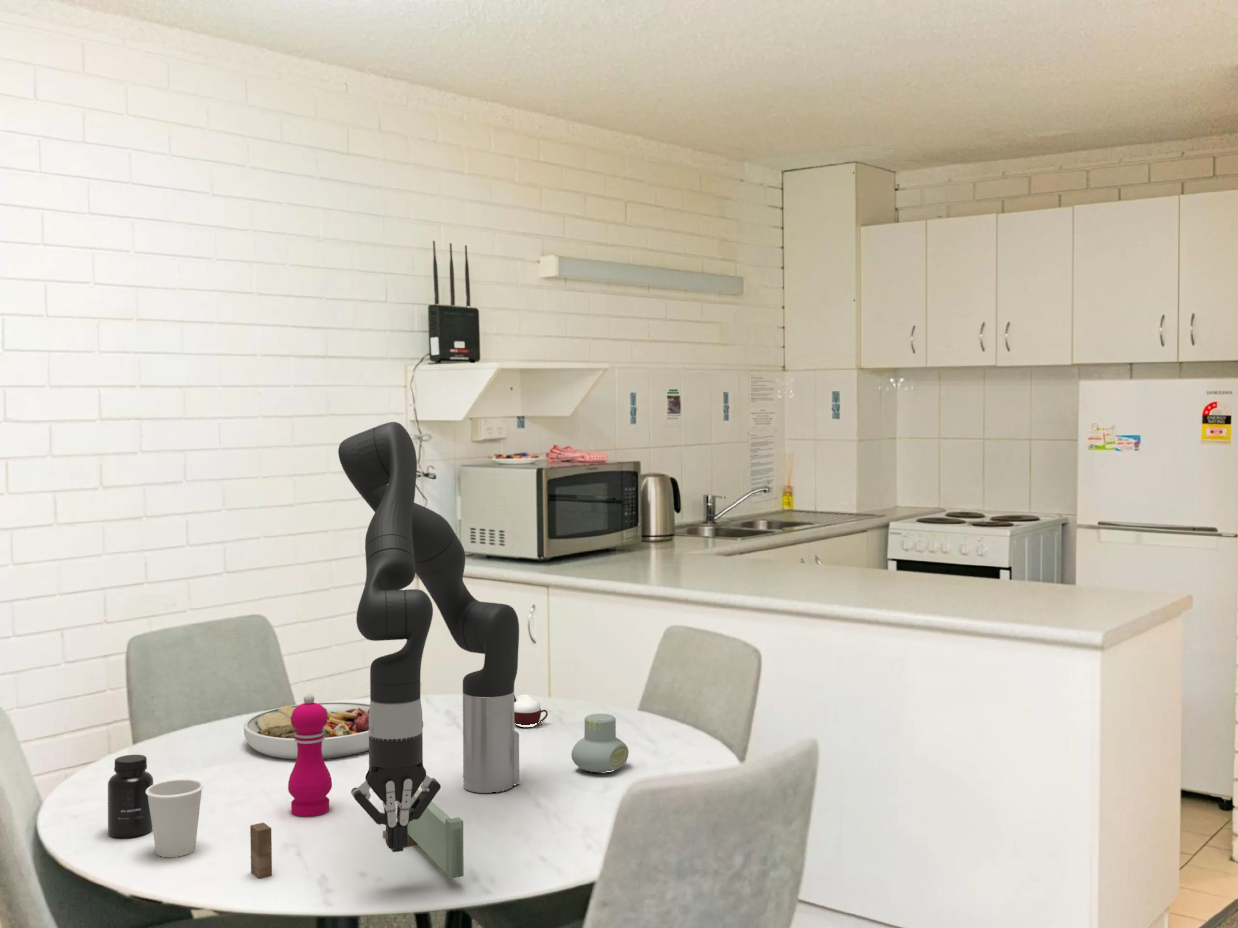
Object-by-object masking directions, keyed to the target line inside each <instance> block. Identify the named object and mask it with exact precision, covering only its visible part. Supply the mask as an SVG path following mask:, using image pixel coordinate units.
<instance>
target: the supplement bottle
mask: <svg viewBox="0 0 1238 928" xmlns="http://www.w3.org/2000/svg"><path fill="white" fill-rule="evenodd" d="M147 761H148V759H147V756H145V755H143V754H127V755H122V756H118V757H117V758H115V759H114V767H113V772H115V774H113V775H112V776H111V777H110V778H109V779H108V781H107V831H108V834H109V836H111V837H113V838H116V839H117V838H118V839H131V838H138V837H141V836H145V835H147V834H149V833H150V832H151V831H153V828H152V821H151V815H150V808H149V801H148V795H147V794H146V789H147V788H148V787H150V786H151V785H153V784H154V777H153V776H152V774H151V773H149V772H148V771H146V770H147V769H148V764H147V763H148V762H147Z"/></svg>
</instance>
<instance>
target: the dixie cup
mask: <svg viewBox="0 0 1238 928" xmlns="http://www.w3.org/2000/svg"><path fill="white" fill-rule="evenodd" d="M203 789H204V784H203V783H202V782H201V781H199V780H197V779H192V778H191V779H190V778H189V779H187V778H183V779H182V778H181V779H180V778H179V779H177V778H176V779H169V780H164V781H159V782H156V783H153V785H151V786H150V787H148V788H147V789H146V794H147V795H148V801H149V808H150V815H151V821H152V832H153V833H152V834H153V840H154V846H155V847H154V848H155V853H156V855H157V856H158V855H159V856H158V857H160V856H162V857H161V858H164V857H175V858H177V857H176V856H181V857H183V856H182V855H185V856H187V854H188V855H190V854H192V853H193V851H194V850H196V846H197V845H196V844H197V835H198V826H199V818H200V817H199V816H200V810H201V809H200V808H201V801H202V790H203ZM194 852H195V851H194Z"/></svg>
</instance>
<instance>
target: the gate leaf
mask: <svg viewBox="0 0 1238 928" xmlns="http://www.w3.org/2000/svg"><path fill="white" fill-rule="evenodd" d="M421 791H422V790H420V789H419V788H418V790H417V791H416V793H415V794H414V796H413V797H412V798H411V802H410V807H411V805H412V804H413V802H414V801H415V800H416V798H417V797H418V795H419V794H420V793H421ZM408 835H409V836H410V837H411V838H412V839H413V840H414V841H415V842H416V843H417V844H416V845H418V846H419V847H420V848H421V849H422V850H423V851H424V852H425V853H426V854H427V855H428V857H430V858H431V859H432V860H433V861H434V862H435V864H437V866H439V868H441V869H442V870H443V871H444V873H445V875H446V876H447V877H448V878H449V879H455V878H461V877H464V875H465V874H464V869H465V868H464V820H463V819H462V818H461V817H459V816H457V817H450V816H449V815H448V814H447V813H446V812H445V811H443V810H442V809H441V808H440V807H439V806H438V805H436V804H435V803H434V802H433V800H432V801H431V802H430V804H429V805H428V807H427V808H426V810H425V811H424V812H423V814H422V815H421V817H420V818H419V819H417V820H415V819H414V820H412V821H410V822H409V824H408Z"/></svg>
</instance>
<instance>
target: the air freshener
mask: <svg viewBox="0 0 1238 928" xmlns="http://www.w3.org/2000/svg"><path fill="white" fill-rule="evenodd" d="M616 723H617V719H616V717H615V716H614V715H613V714H608V713H592V714H589V715H586V716H585V717H584V733H583V734H584V735H583V736H584V737H583V738H581V739H580V740H578V741H577V742H576V743H575V744H574V745H573V747H572V750H571V760H572V762H573V763H574V764H575V766H577V767H578V768H580V769H581V770H583V771H585V770H586V771H585V772H587V771H592V772H606V771H612V770H616V769H617V770H619V769H621V768H622V767H623V766H624V765H625V764H626V762H627V760H628V758H629V752H630V750H629V747H628V746H627V745H626V743H625V742H624V741H622V740H621V739H620V738H618V737H617V729H616V728H617V727H616V726H617V724H616ZM620 767H621V768H620ZM618 768H619V769H618ZM617 770H616V771H617ZM592 772H591V773H592Z"/></svg>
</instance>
